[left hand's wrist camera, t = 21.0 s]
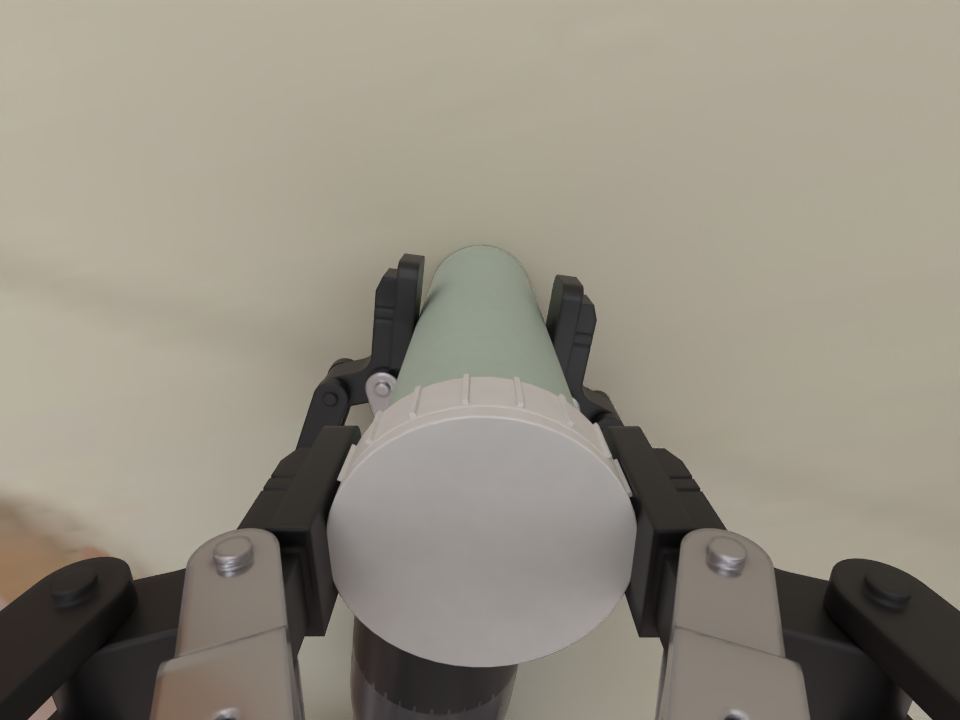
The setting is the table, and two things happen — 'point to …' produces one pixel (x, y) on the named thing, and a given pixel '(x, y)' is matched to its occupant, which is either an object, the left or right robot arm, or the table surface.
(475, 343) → the jar
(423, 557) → the lid
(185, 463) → the table surface
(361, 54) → the table surface
